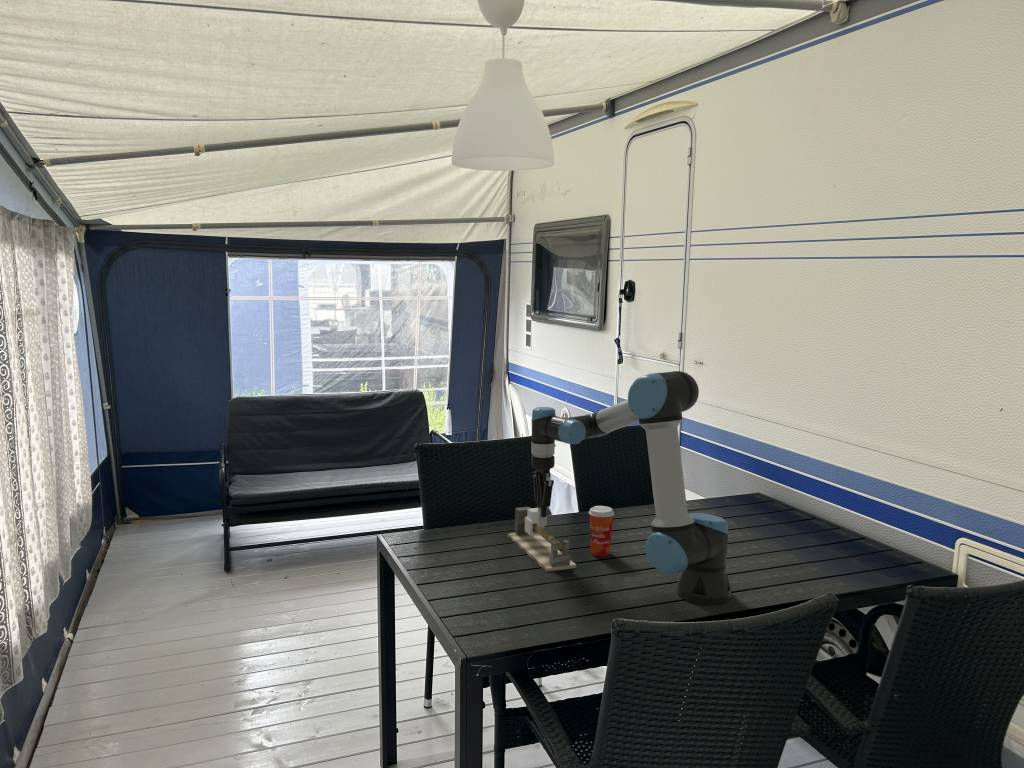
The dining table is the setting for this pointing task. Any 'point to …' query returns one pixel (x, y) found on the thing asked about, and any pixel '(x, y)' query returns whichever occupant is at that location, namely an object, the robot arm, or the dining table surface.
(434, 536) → the dining table surface
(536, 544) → the cord rig
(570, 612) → the dining table surface
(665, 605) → the dining table surface
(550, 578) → the dining table surface
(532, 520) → the sleeve
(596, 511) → the coffee cup
